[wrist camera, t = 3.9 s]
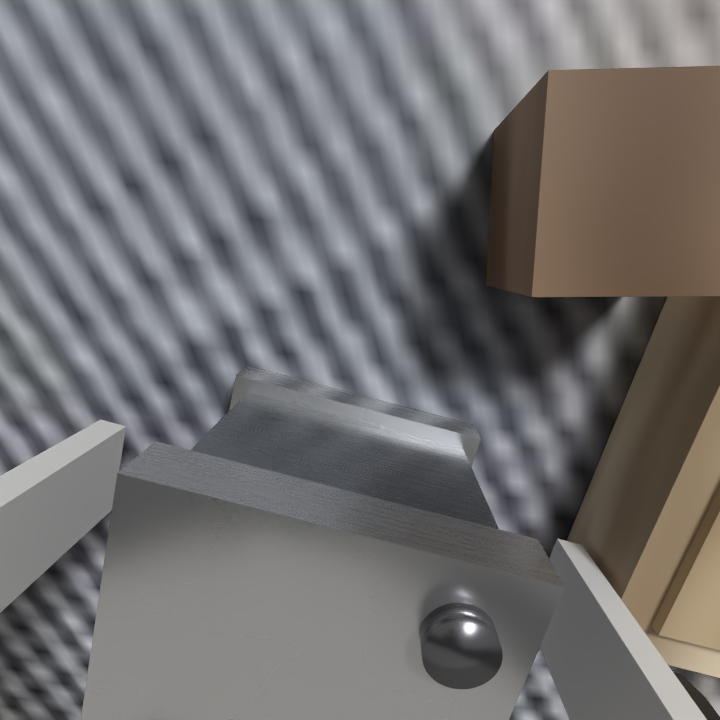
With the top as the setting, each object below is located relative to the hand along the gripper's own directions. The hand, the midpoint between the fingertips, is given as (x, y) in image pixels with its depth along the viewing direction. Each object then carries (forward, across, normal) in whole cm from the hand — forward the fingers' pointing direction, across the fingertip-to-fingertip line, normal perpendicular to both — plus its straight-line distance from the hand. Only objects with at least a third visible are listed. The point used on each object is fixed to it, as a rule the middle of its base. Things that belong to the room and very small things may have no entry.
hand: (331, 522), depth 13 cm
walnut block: (+1, +4, +10) cm, 11 cm away
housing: (+1, 0, 0) cm, 1 cm away
